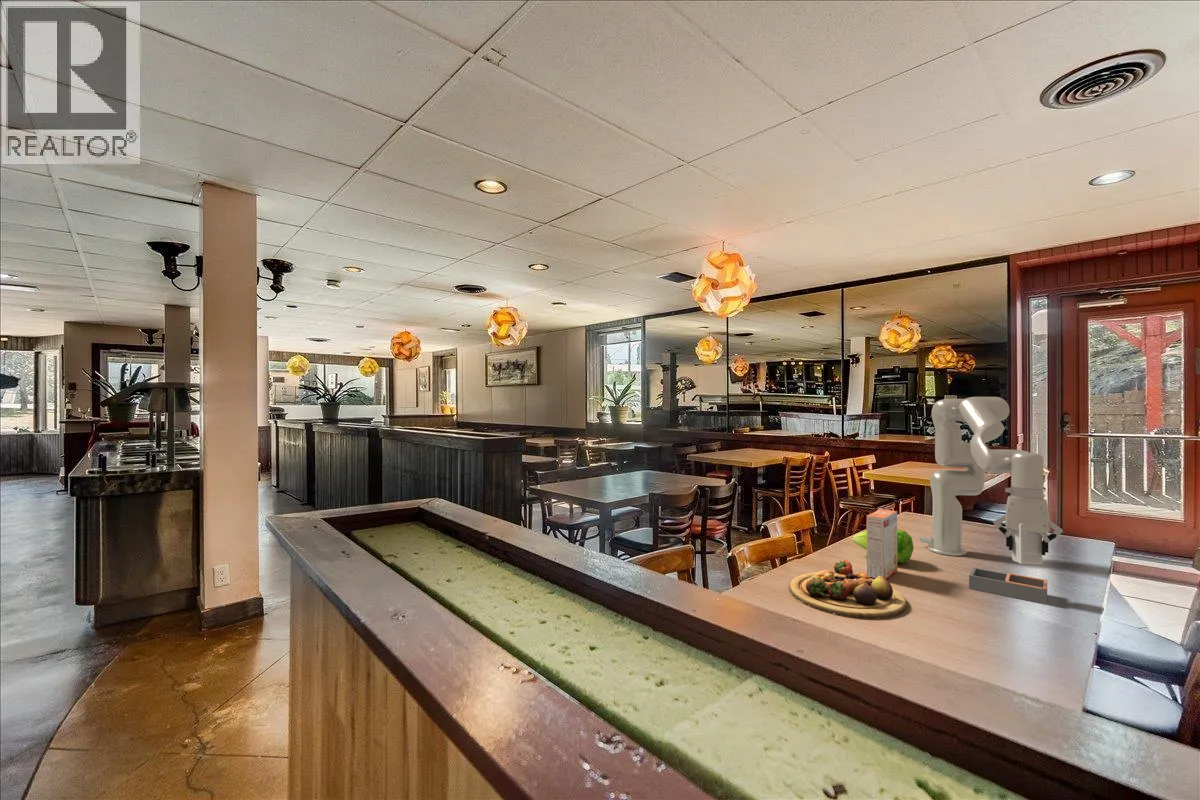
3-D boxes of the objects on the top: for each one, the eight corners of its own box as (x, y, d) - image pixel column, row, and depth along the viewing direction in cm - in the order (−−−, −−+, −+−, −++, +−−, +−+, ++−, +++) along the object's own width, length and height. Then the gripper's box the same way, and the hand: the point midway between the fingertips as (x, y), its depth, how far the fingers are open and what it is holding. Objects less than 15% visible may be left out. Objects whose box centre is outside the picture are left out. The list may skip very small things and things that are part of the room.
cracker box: (879, 567, 182) (879, 508, 182) (898, 571, 178) (898, 511, 178) (865, 577, 172) (865, 514, 172) (884, 581, 168) (885, 517, 168)
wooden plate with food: (807, 571, 178) (807, 548, 178) (914, 593, 158) (914, 566, 158) (773, 602, 154) (773, 574, 153) (895, 632, 134) (895, 600, 133)
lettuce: (859, 549, 203) (859, 519, 203) (918, 561, 189) (918, 528, 189) (847, 557, 193) (847, 525, 193) (908, 570, 179) (909, 535, 179)
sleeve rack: (969, 588, 162) (969, 574, 162) (973, 580, 170) (973, 566, 170) (1046, 604, 150) (1046, 589, 150) (1047, 594, 157) (1047, 580, 157)
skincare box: (1032, 560, 158) (1032, 521, 158) (1042, 565, 154) (1043, 524, 154) (1011, 559, 159) (1011, 521, 159) (1020, 564, 155) (1021, 524, 155)
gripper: (989, 491, 160) (989, 549, 160) (1065, 498, 148) (1065, 560, 148) (992, 488, 165) (992, 544, 165) (1065, 495, 154) (1065, 555, 154)
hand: (1026, 551), depth 157 cm, fingers closed on skincare box, 7 cm apart
